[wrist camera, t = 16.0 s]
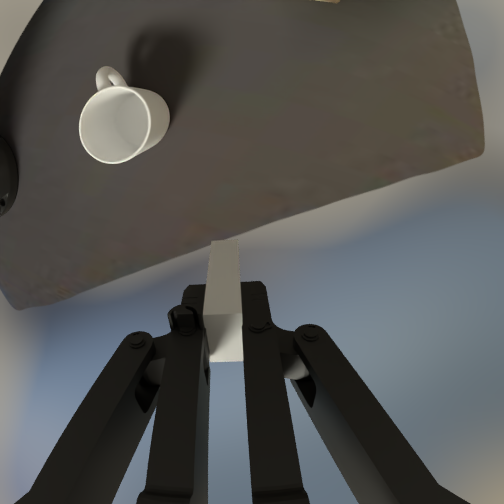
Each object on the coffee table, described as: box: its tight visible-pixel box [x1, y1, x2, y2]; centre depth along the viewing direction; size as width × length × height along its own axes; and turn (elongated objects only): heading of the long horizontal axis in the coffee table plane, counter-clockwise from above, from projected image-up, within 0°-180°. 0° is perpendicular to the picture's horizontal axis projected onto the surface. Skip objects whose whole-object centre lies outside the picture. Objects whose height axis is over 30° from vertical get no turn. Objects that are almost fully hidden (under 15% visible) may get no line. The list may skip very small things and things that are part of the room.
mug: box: [79, 66, 170, 164], centre depth 29 cm, size 12×8×10 cm
